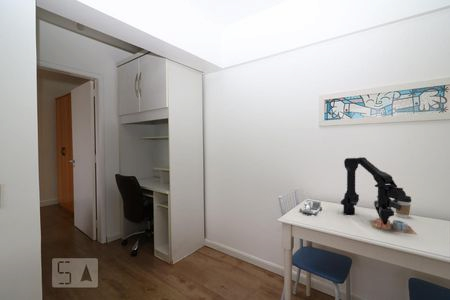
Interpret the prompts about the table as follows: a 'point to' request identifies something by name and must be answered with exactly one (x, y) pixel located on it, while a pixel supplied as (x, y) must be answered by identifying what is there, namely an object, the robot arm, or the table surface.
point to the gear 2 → (400, 225)
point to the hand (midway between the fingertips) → (382, 221)
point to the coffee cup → (404, 207)
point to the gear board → (409, 229)
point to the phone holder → (311, 207)
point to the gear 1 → (380, 223)
